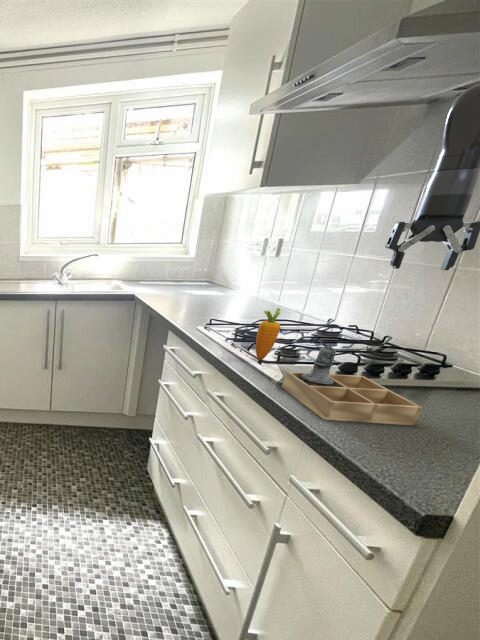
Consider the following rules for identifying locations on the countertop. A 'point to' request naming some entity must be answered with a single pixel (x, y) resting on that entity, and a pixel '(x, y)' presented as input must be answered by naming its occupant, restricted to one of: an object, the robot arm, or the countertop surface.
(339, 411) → the wooden compartment tray
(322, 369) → the grey tall piece
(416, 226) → the robot arm
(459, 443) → the countertop surface
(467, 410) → the countertop surface
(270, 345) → the carrot
